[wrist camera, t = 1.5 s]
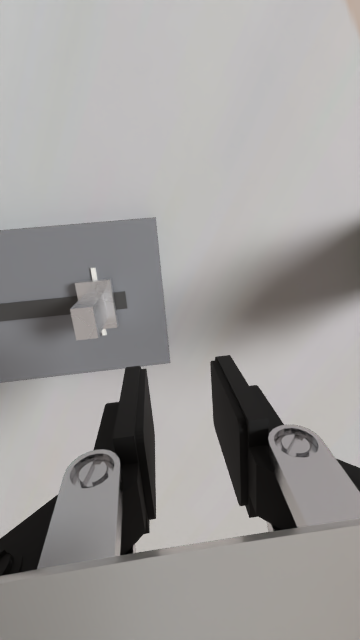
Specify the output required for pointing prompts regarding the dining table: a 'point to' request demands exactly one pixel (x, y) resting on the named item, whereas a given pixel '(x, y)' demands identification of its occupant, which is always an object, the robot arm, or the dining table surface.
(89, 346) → the console
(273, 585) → the robot arm
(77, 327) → the fader
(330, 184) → the dining table surface
